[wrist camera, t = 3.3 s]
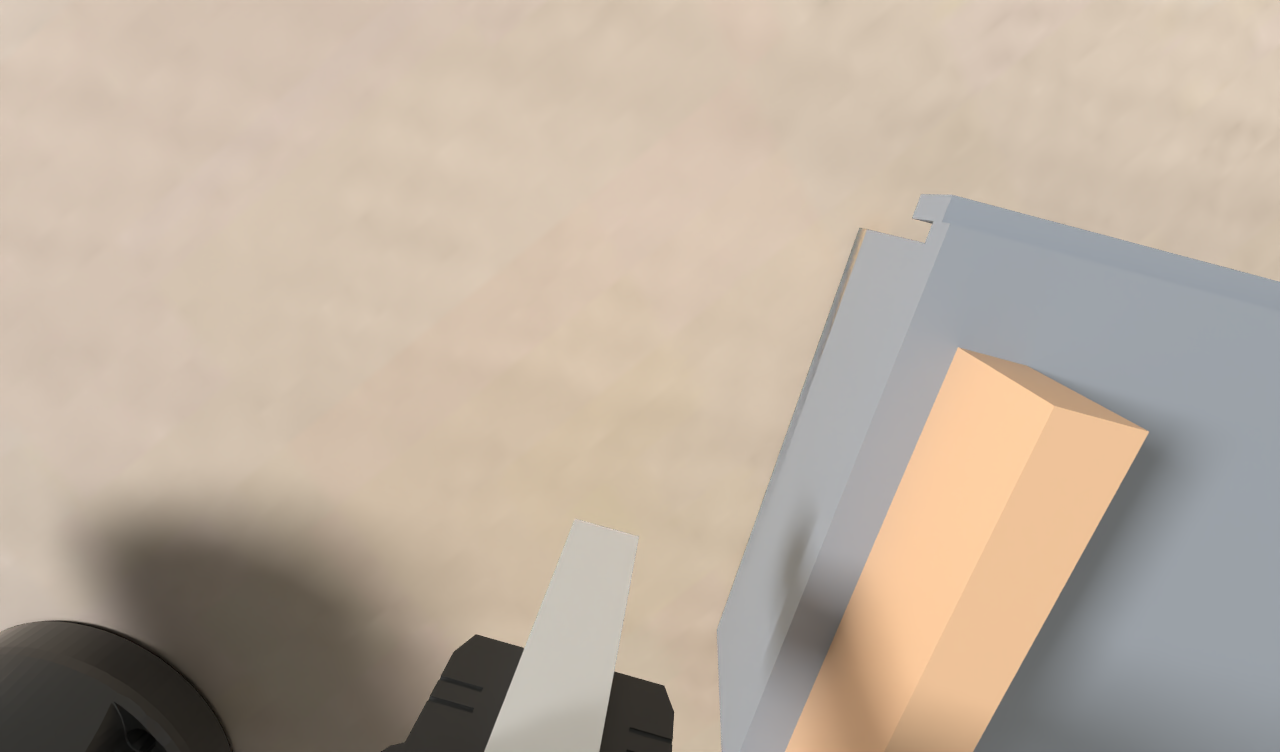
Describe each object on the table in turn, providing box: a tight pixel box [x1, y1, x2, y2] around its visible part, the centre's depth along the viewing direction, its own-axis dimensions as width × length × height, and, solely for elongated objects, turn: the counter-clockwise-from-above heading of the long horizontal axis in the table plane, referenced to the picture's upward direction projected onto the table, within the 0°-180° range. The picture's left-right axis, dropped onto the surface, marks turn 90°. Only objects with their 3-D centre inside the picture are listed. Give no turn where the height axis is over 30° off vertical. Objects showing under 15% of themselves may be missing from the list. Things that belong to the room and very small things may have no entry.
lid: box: [727, 194, 1280, 752], centre depth 15 cm, size 19×20×6 cm
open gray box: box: [717, 228, 925, 752], centre depth 21 cm, size 18×18×8 cm
